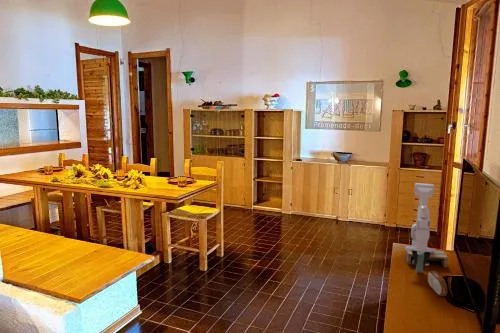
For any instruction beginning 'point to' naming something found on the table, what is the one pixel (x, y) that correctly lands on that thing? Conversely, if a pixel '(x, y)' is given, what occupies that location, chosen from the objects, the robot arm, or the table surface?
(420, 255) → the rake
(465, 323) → the table surface
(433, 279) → the tin
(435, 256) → the grey bridge block
